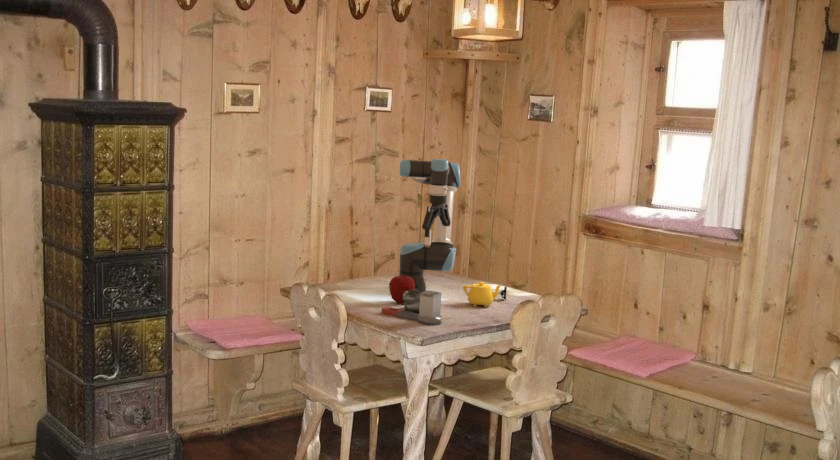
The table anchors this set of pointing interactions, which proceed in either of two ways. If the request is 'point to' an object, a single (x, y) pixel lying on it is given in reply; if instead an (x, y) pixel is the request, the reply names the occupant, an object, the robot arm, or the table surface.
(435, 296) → the grey upright rectangular block
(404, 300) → the rock
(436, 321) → the ratchet
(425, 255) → the robot arm
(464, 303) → the table surface
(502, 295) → the valve
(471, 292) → the teapot
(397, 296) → the apple
